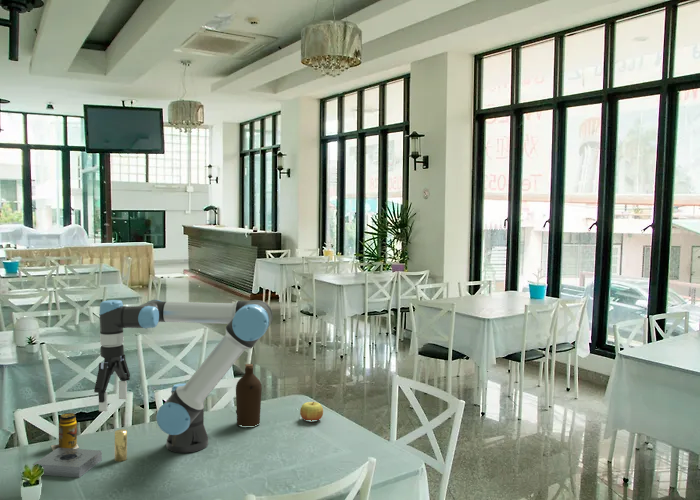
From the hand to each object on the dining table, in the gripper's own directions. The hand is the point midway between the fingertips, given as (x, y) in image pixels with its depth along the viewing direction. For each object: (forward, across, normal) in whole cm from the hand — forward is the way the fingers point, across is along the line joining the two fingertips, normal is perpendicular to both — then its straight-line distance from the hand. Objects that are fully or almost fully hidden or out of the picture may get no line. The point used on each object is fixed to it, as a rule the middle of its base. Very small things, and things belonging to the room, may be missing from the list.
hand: (113, 404), depth 210 cm
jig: (+19, +10, -12) cm, 24 cm away
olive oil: (+20, -42, +36) cm, 59 cm away
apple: (+21, -51, +61) cm, 82 cm away
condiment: (+19, -6, -23) cm, 30 cm away
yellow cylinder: (+19, 0, +2) cm, 19 cm away
